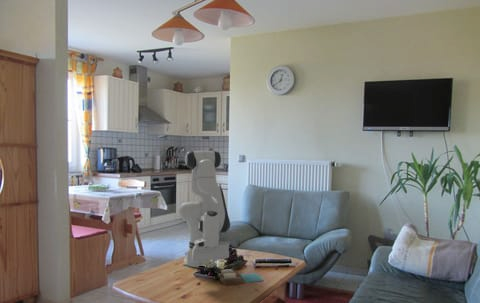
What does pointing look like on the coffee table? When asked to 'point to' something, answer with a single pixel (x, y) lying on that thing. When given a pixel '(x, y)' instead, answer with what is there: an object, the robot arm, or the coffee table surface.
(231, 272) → the birch tile
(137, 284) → the coffee table surface
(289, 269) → the coffee table surface
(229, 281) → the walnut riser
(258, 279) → the teal mat
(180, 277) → the coffee table surface
